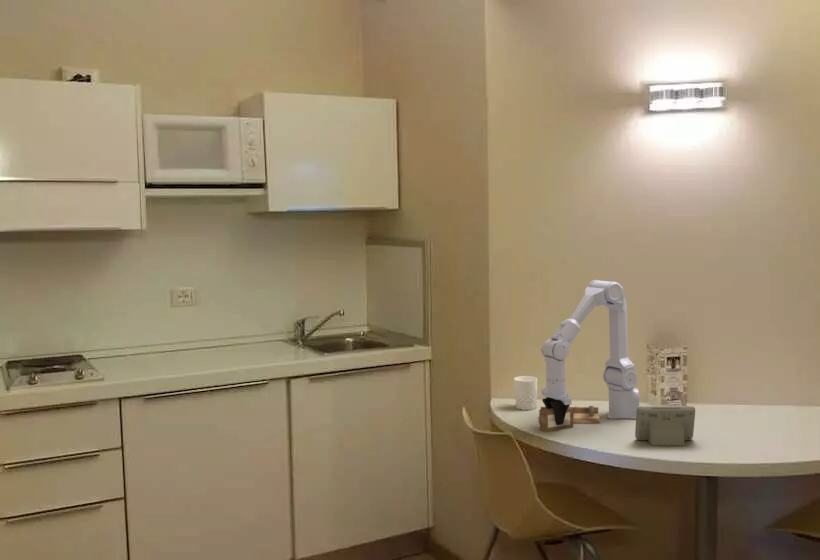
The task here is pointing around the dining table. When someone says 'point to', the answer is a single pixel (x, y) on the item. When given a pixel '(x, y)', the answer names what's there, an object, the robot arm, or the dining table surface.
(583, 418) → the wooden stand base
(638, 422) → the digital clock
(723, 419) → the dining table surface
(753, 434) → the dining table surface
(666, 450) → the dining table surface
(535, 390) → the white cup
